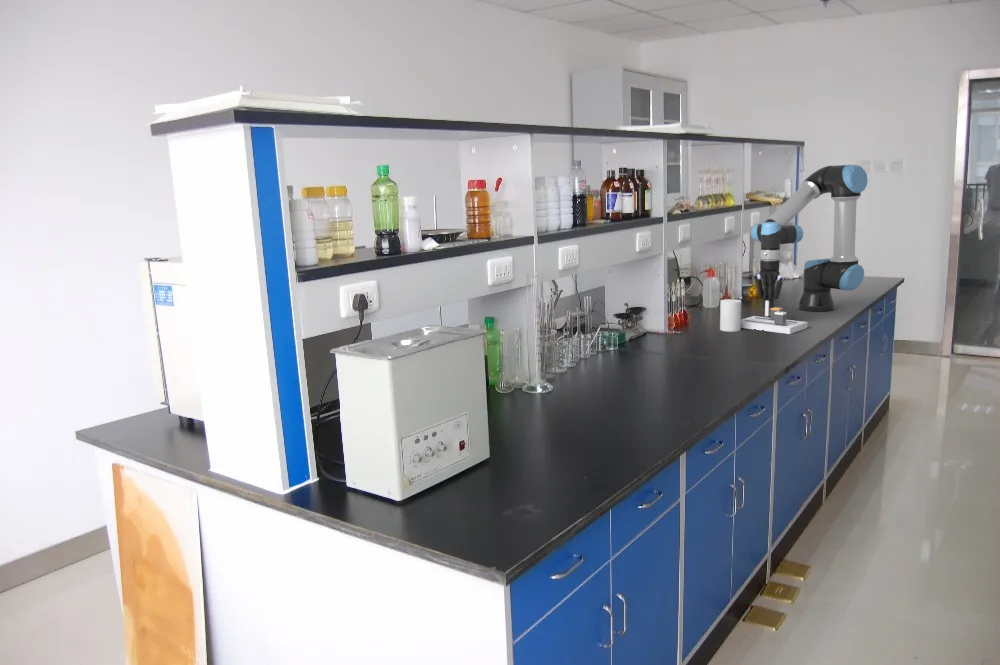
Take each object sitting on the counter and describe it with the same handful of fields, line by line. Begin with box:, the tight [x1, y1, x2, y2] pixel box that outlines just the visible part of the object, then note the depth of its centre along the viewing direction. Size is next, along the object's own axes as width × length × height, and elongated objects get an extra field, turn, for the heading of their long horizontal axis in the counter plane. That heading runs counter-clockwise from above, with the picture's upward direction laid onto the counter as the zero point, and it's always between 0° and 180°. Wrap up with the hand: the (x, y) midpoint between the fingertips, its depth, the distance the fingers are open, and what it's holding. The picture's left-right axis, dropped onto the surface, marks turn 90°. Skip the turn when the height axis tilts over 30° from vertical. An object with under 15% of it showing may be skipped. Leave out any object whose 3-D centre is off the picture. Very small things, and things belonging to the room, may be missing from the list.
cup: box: [719, 298, 742, 333], centre depth 303 cm, size 8×8×12 cm
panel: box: [741, 315, 809, 335], centre depth 304 cm, size 15×24×3 cm, turn 42°
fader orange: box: [769, 306, 783, 320], centre depth 306 cm, size 3×4×5 cm
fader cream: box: [774, 311, 787, 325], centre depth 296 cm, size 3×4×5 cm
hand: (768, 315), depth 309 cm, fingers closed
